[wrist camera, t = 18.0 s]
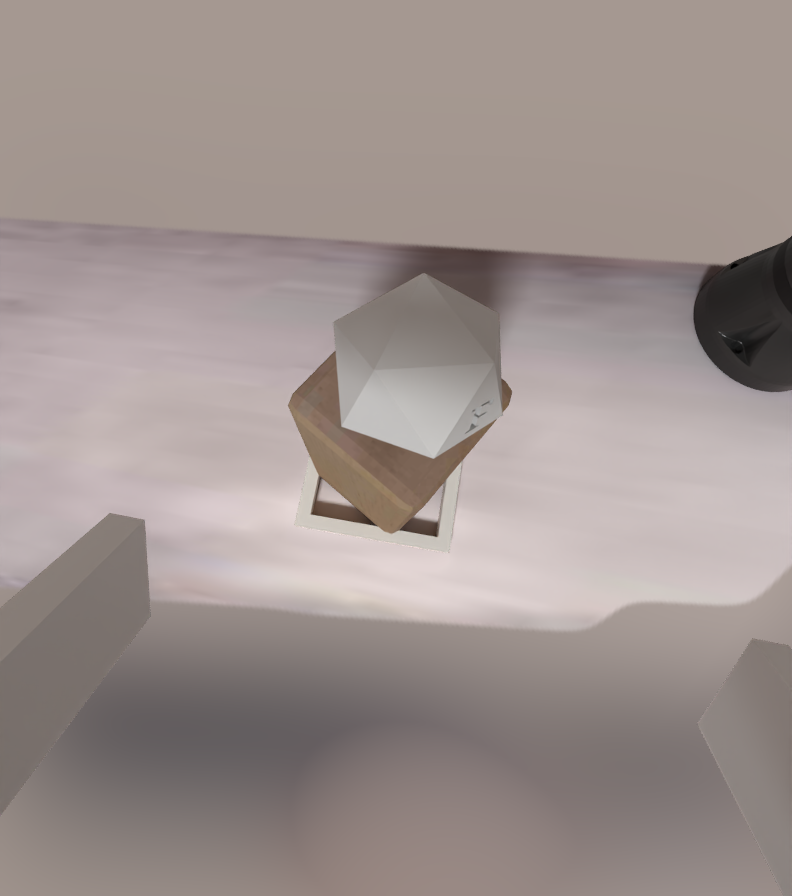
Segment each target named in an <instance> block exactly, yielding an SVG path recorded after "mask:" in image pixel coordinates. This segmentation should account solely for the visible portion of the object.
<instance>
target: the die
mask: <svg viewBox="0 0 792 896" xmlns="http://www.w3.org/2000/svg"><path fill="white" fill-rule="evenodd" d="M333 323H334V336H335V349H336V362H337V375H338V388H339V401H340V414H341V427H344V428H347V429H350V430H353V431H356V432H358V433H361V434H364V435H367V436H370V437H373V438H376V439H379V440H381V441H384V442H387V443H390V444H393V445H396V446H399V447H401V448H404V449H407V450H410V451H413V452H416V453H419V454H421V455H424V456H427V457H430V458H433V459H434V458H436V457H437V456H439V455H440V454H442V453H444V452H445V451H447V450H448V449H450V448H452V447H453V446H455V445H456V444H458V443H459V442H461V441H463V440H464V439H466V438H467V437H469V436H471V435H472V434H474V433H475V432H477V431H478V430H480V429H482V428H483V427H485V426H486V425H488V424H490V423H491V422H493V421H494V420H496V419H497V418H499V417H501V416H502V415H503V412H502V383H501V354H500V325H499V313H497V312H495V311H494V310H492V309H490V308H488V307H486V306H484V305H482V304H481V303H479V302H477V301H475V300H473V299H471V298H470V297H468V296H466V295H464V294H462V293H460V292H459V291H457V290H455V289H453V288H451V287H449V286H447V285H446V284H444V283H442V282H440V281H438V280H436V279H435V278H433V277H431V276H429V275H427V274H425V273H422V274H420V275H419V276H417V277H415V278H413V279H411V280H409V281H408V282H406V283H404V284H402V285H400V286H398V287H397V288H395V289H393V290H391V291H389V292H387V293H386V294H384V295H382V296H380V297H378V298H376V299H375V300H373V301H371V302H369V303H367V304H365V305H364V306H362V307H360V308H358V309H356V310H354V311H353V312H351V313H349V314H347V315H345V316H343V317H342V318H340V319H338V320H336V321H334V322H333Z"/></svg>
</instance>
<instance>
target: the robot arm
mask: <svg viewBox="0 0 792 896" xmlns="http://www.w3.org/2000/svg"><path fill="white" fill-rule="evenodd" d="M694 320H695V327H696V331H697V335H698V338H699V340H700V343H701V345H702V347H703V348H704V350H705V352H706V353H707V355H708V356H709V358H710V359H711V360H712V361H713V363H714V364H715V365H716V366H717V367H718V368H719V369H720V370H721V371H723V372H724V373H725V374H726V375H728V376H729V377H730V378H732V379H733V380H735V381H737V382H739V383H741V384H743V385H745V386H747V387H750V388H753V389H756V390H761V391H767V392H782V391H788V390H792V236H791V237H790V238H789V239H787V240H786V241H785V242H783V243H780V244H778V245H775V246H773V247H770V248H767V249H765V250H762V251H759V252H757V253H754V254H752V255H750V256H747V257H744V258H741V259H739V260H737V261H734V262H732V263H731V264H729V265H727V266H726V267H724V268H723V269H722V270H721V271H719V272H718V273H717V274H716V275H715V276H713V277H712V278H711V279H710V280H709V281H708V282H707V283H706V284H705V285H704V286H703V288H702V289H701V291H700V293H699V295H698V297H697V300H696V304H695V311H694ZM150 616H151V613H150V597H149V580H148V564H147V548H146V532H145V520H142V519H137V518H132V517H127V516H122V515H117V514H112V513H110V514H108V515H107V516H106V517H105V518H104V519H103V520H101V521H100V522H99V523H98V524H97V525H96V526H95V527H93V528H92V529H91V530H90V531H89V532H88V533H86V534H85V535H84V536H83V537H82V538H81V539H79V540H78V541H77V542H76V543H75V544H74V545H72V546H71V547H70V548H69V549H68V550H67V551H66V552H64V553H63V554H62V555H61V556H60V557H59V558H57V559H56V560H55V561H54V562H53V563H52V564H50V565H49V566H48V567H47V568H46V569H45V570H44V571H42V572H41V573H40V574H39V575H38V576H37V577H35V578H34V579H33V580H32V581H31V582H30V583H28V584H27V585H26V586H25V587H24V588H23V589H22V590H20V591H19V592H18V593H17V594H16V595H15V596H13V597H12V598H11V599H10V600H9V601H8V602H7V603H5V604H4V605H3V606H2V607H1V608H0V816H1V815H2V813H3V812H4V810H5V809H6V808H7V806H8V805H9V804H10V802H11V801H12V800H13V799H14V797H15V796H16V795H17V793H18V792H19V791H20V789H21V788H22V787H23V785H24V784H25V783H26V781H27V780H28V779H29V777H30V776H31V775H32V773H33V772H34V771H35V769H36V768H37V767H38V765H39V764H40V763H41V761H42V760H43V758H44V757H45V756H46V755H47V753H48V752H49V751H50V749H51V748H52V747H53V745H54V744H55V743H56V741H57V740H58V738H59V737H60V736H61V735H62V733H63V732H64V731H65V729H66V728H67V726H68V725H69V724H70V723H71V721H72V720H73V719H74V717H75V716H76V715H77V713H78V712H79V711H80V709H81V708H82V707H83V705H84V704H85V703H86V701H87V700H88V699H89V697H90V696H91V695H92V693H93V692H94V691H95V689H96V688H97V687H98V685H99V684H100V683H101V681H102V680H103V679H104V677H105V676H106V675H107V673H108V672H109V671H110V669H111V668H112V667H113V666H114V664H115V663H116V662H117V660H118V659H119V658H120V656H121V655H122V653H123V652H124V651H125V649H126V648H127V647H128V646H129V644H130V643H131V642H132V640H133V639H134V638H135V636H136V635H137V634H138V632H139V631H140V630H141V628H142V627H143V626H144V624H145V623H146V621H147V620H148V619H149V618H150ZM697 725H698V727H699V729H700V731H701V733H702V735H703V737H704V739H705V741H706V743H707V745H708V747H709V749H710V751H711V753H712V755H713V757H714V759H715V761H716V763H717V765H718V767H719V769H720V771H721V773H722V775H723V777H724V779H725V781H726V783H727V785H728V787H729V789H730V791H731V793H732V795H733V797H734V799H735V801H736V803H737V805H738V807H739V809H740V811H741V813H742V815H743V817H744V819H745V821H746V823H747V825H748V827H749V829H750V831H751V833H752V835H753V837H754V839H755V841H756V843H757V845H758V847H759V849H760V851H761V853H762V855H763V857H764V859H765V861H766V862H767V865H768V866H769V868H770V871H771V873H772V875H773V877H774V879H775V881H776V883H777V884H778V886H779V889H780V891H781V893H782V895H783V896H792V649H791V648H790V647H789V646H788V645H784V644H778V643H773V642H768V641H763V640H757V639H752V640H751V641H750V643H749V645H748V646H747V648H746V649H745V651H744V652H743V654H742V655H741V657H740V658H739V660H738V662H737V663H736V665H735V666H734V668H733V669H732V671H731V673H730V674H729V675H728V677H727V679H726V680H725V682H724V683H723V685H722V686H721V688H720V689H719V691H718V692H717V694H716V696H715V697H714V699H713V700H712V702H711V704H710V705H709V706H708V708H707V710H706V711H705V713H704V714H703V716H702V717H701V719H700V720H699V722H698V723H697Z"/></svg>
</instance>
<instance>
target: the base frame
mask: <svg viewBox="0 0 792 896" xmlns="http://www.w3.org/2000/svg"><path fill="white" fill-rule="evenodd" d="M461 465H462V461H461V463H460V464H459V465H458V466H457V467H456V469H455V470H454V471H453V472H452V473H451V475H450V476H449V477H448V478H447V479H446V480H445V482H444V485H443V492H442V499H441V505H440V512H439V519H438V525H437V532H436V537H434V536H428V535H423V534H417V533H411V532H406V531H400V530H399V531H397V532H395V533H393V534H390V533H387V532H384V531H383V530H382V529H380V528H379V527H378V526H372V525H367V524H361V523H356V522H350V521H345V520H339V519H333V518H328V517H322V516H317V515H312V513H313V508H314V504H315V499H316V494H317V489H318V485H319V480H320V476H319V475H318V473H317V471H316V469H315V466H314V464H313V462H312V460H311V457H310V456H309V461H308V465H307V470H306V474H305V479H304V483H303V488H302V492H301V497H300V502H299V506H298V511H297V515H296V520H295V524H294V525H295V526H296V527H301V528H307V529H313V530H318V531H324V532H329V533H335V534H341V535H346V536H352V537H358V538H363V539H369V540H374V541H380V542H386V543H391V544H397V545H402V546H408V547H414V548H419V549H425V550H430V551H436V552H442V553H449V550H450V543H451V536H452V529H453V522H454V514H455V507H456V500H457V493H458V486H459V479H460V472H461Z"/></svg>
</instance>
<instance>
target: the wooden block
mask: <svg viewBox="0 0 792 896" xmlns="http://www.w3.org/2000/svg"><path fill="white" fill-rule="evenodd" d="M501 383H502V412H503V411H504V410H505V409H506V408H507V407H508V405H509V402H510V398H511V395H512V390H511V389H510V387H509V386H508V384H507V383H506V382H505V381H504V380H503V379H501ZM288 406H289V409H290V411H291V413H292V416H293V418H294V420H295V423H296V425H297V427H298V430H299V432H300V434H301V436H302V439H303V441H304V443H305V446H306V448H307V450H308V453H309V455H310V457H311V460H312V462H313V464H314V466H315V469H316V471H317V473H318V475H319V476H320V477H321V478H323V479H324V480H325V481H326V482H327V483H328V484H330V485H331V486H332V487H333V488H334V489H335V490H336V491H338V492H339V493H340V494H341V495H342V496H343V497H344V498H346V499H347V500H348V501H349V502H350V503H351V504H352V505H354V506H355V507H356V508H357V509H358V510H359V511H360V512H362V513H363V514H364V515H365V516H366V517H367V518H369V519H370V520H371V521H372V522H373V523H374V524H375V525H377V526H378V527H379V528H380V529H382V530H383V531H384V532H387V533H390V534H393V533H395V532H397V531H399V530H400V529H401V528H402V527H403V526H404V525H405V524H406V523H407V522H408V521H409V520H410V519H411V518H412V517H413V516H414V515H415V514H416V513H417V512H418V511H419V510H421V509H422V508H423V507H424V506H425V504H426V503H427V502H428V501H429V500H430V498H431V497H432V496H433V495H434V494H435V492H436V491H437V490H438V489H439V488H440V486H441V485H442V484H443V483H444V482H445V480H446V479H447V478H448V477H449V476H450V475H451V473H452V472H453V471H454V470H455V469H456V467H457V466H458V465H459V464H460V463H461V461H462V460H463V459H464V458H465V457H466V455H467V454H468V453H469V452H470V451H471V449H472V448H473V447H474V446H475V445H476V444H477V442H478V441H479V440H480V439H481V438H482V436H483V435H484V434H485V433H486V432H487V430H488V429H489V428H490V427H491V426H492V424H493V423H494V422H495V421H496V420H497V419H496V420H494V421H493V422H491V423H490V424H488V425H486V426H485V427H483V428H482V429H480V430H478V431H477V432H475V433H474V434H472V435H471V436H469V437H467V438H466V439H464V440H463V441H461V442H459V443H458V444H456V445H455V446H453V447H452V448H450V449H448V450H447V451H445V452H444V453H442V454H440V455H439V456H437V457H436V458H434V459H433V458H430V457H427V456H424V455H421V454H419V453H416V452H413V451H410V450H407V449H404V448H401V447H399V446H396V445H393V444H390V443H387V442H384V441H381V440H379V439H376V438H373V437H370V436H367V435H364V434H361V433H358V432H356V431H353V430H350V429H347V428H344V427H341V414H340V401H339V388H338V375H337V362H336V351H335V352H334V353H333V354H332V355H331V356H330V357H329V358H328V359H327V360H326V361H325V362H324V363H323V364H322V365H321V366H320V367H319V368H318V369H317V370H316V371H315V372H314V373H313V374H312V375H311V376H310V377H309V378H308V379H307V380H306V381H305V382H304V383H303V384H302V385H301V386H300V387H299V388H298V389H297V390H296V391H295V392H294V393H293V395H292V397H291V400H290V402H289V405H288Z"/></svg>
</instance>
